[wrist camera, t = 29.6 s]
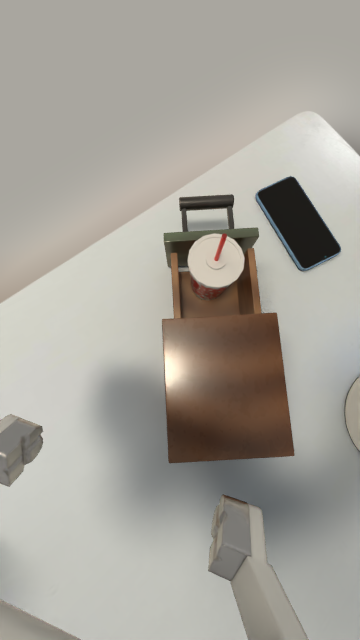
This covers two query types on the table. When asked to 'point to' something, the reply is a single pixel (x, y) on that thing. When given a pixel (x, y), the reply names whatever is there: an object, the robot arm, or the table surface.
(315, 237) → the smartphone
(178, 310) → the drawer
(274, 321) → the cabinet
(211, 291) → the beverage cup
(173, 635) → the table surface
